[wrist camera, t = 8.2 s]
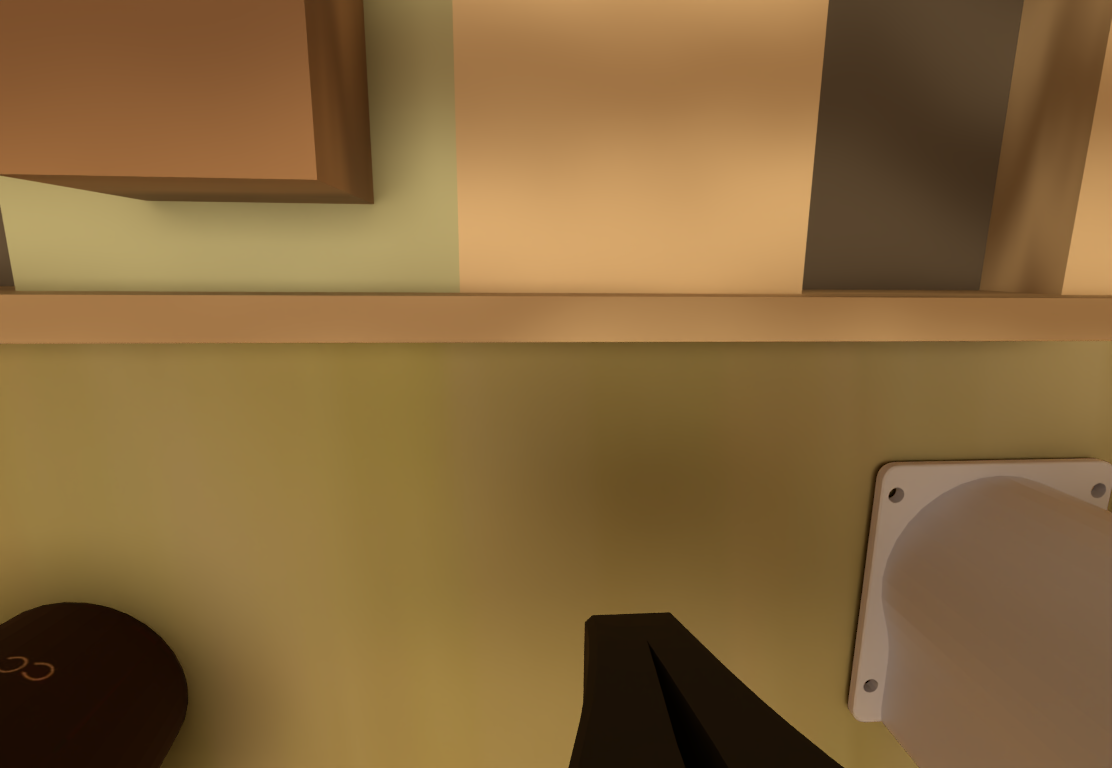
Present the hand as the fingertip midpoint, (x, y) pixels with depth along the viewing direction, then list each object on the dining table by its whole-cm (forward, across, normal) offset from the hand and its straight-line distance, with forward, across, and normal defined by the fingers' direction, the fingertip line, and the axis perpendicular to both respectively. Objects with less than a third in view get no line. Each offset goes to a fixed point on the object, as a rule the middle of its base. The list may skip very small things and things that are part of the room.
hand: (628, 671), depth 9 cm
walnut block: (+6, +7, -10) cm, 14 cm away
